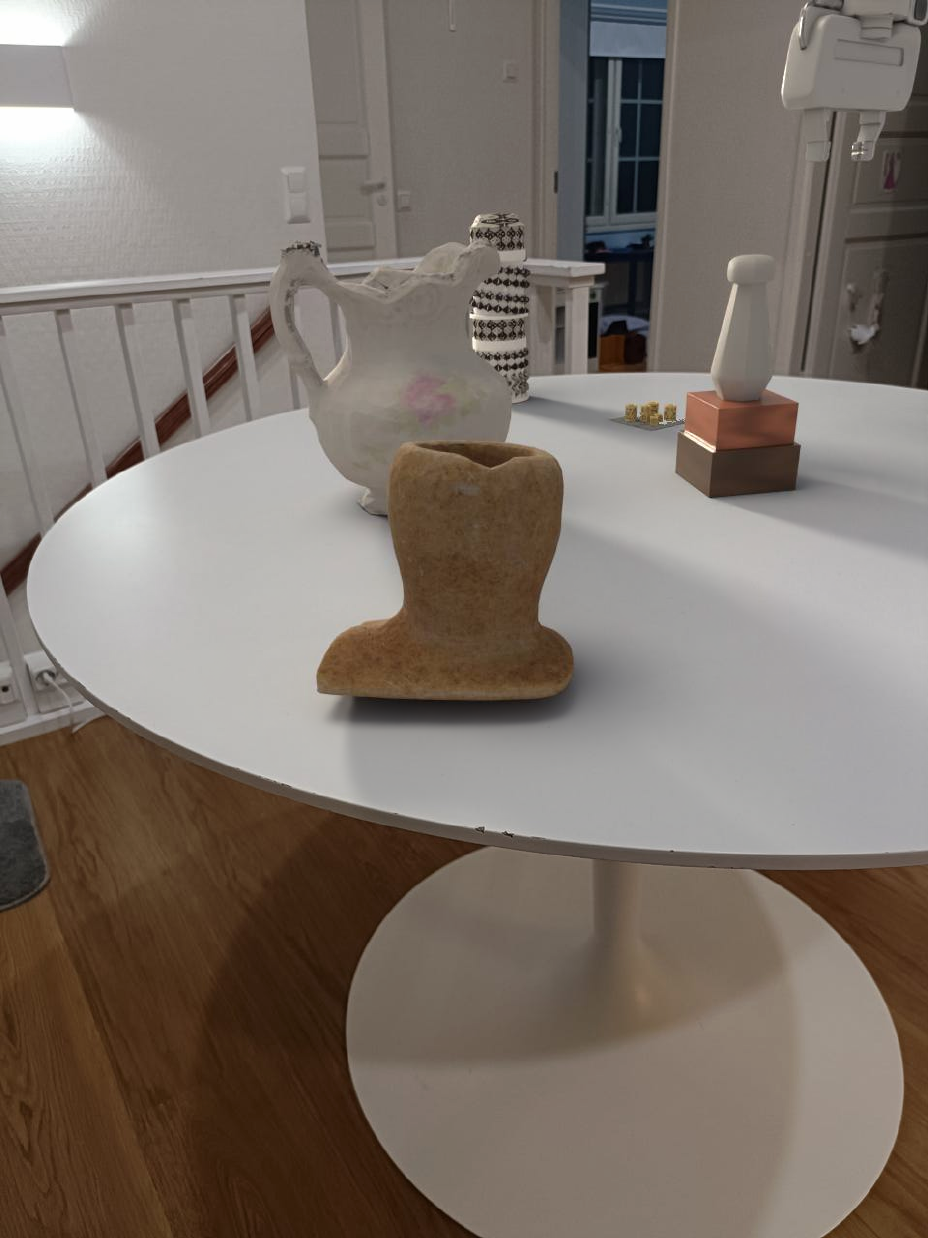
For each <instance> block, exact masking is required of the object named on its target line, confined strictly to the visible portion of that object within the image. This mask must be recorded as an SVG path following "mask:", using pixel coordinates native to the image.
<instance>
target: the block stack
mask: <svg viewBox="0 0 928 1238" xmlns="http://www.w3.org/2000/svg"><path fill="white" fill-rule="evenodd" d="M685 401H686V403H685V415H684V417H685V423H684V429H683V430H682V429H681V430H677V439H676V453H675V454H676V456H675V469H674V470H675V471H674V472H675V473H676V474H677V475H678V476H679V477H681V478H682V479H683V480H685V481H686V482H688V483H689V484H690V485H691V486H693V487H694V488H695V489H697V490H698V491H699V492H701V493H702V494H703V495H705V496H706V497H707V498H709V499H710V498H718V497H719V498H720V497H721V498H722V497H731V496H741V495H752V494H764V493H775V492H786V491H796V488H797V480H798V472H799V465H800V457H801V451H802V445H801V444H800V443H797V442H796V441H795V437H796V431H797V422H798V421H797V420H798V413H799V406H800V405H799V404H800V402H798V401H796V400H793V399H791V398H788V397H786V396H783V395H781V394H779V393H776V392H774V391H773V390H772V391H771V390H769V389H766V388H765V390H764V391H763V393H762V394H761V396H760V398H759V400H752V401H743V402H741V401H730V400H723V399H721V398H720V397H718V395H717V392H716V389H714V390H701V391H689V392H686V400H685Z"/></svg>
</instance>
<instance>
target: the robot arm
mask: <svg viewBox="0 0 928 1238" xmlns="http://www.w3.org/2000/svg"><path fill="white" fill-rule="evenodd" d="M798 20H799V21H797V23H796V24H795V25H794V28H793V30H792V33H791V35H790V39H789V44H788V48H787V55H786V60H785V64H784V65H785V66H784V72H783V78H782V85H781V99H782V105H783V107H784V109H786V110H794V111H803V114H802V115H803V116H802V127H803V132H804V136H805V141H806V151H805V161H806V162H807V163H820V162H826V161H828V160H829V158H830V155H831V154H830V152H831V151H830V150H831V146H832V141H830V140H829V141H828V127H827V122H829V121H830V118H831V112H840V113H841V112H842V113H845V112H846V113H860V116H859V125H861V126H860V130H859V134H858V136H857V140H856V142H852V147H851V156H850V157H851V161H852V162H863V161H864V162H865V161H866V162H867V161H871V160H873V158H874V156H875V149H876V142H877V141H878V139H879V137H880V134H881V132H882V130H883V128H884V126H885V123H886V116H887V113H892V112H893V113H894V112H901V111H903V110H904V109H905V108H906V105H907V104H908V102H909V100H910V99H911V95H912V91H913V87H914V83H915V78H916V73H917V67H918V62H919V57H920V52H921V41H922V33H921V30H920V28H919V26H924V25H926V24H927V22H928V0H807V1H806V3H805V4H804V6H803V7H802V8H801V9H800V13H799V18H798Z"/></svg>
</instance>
